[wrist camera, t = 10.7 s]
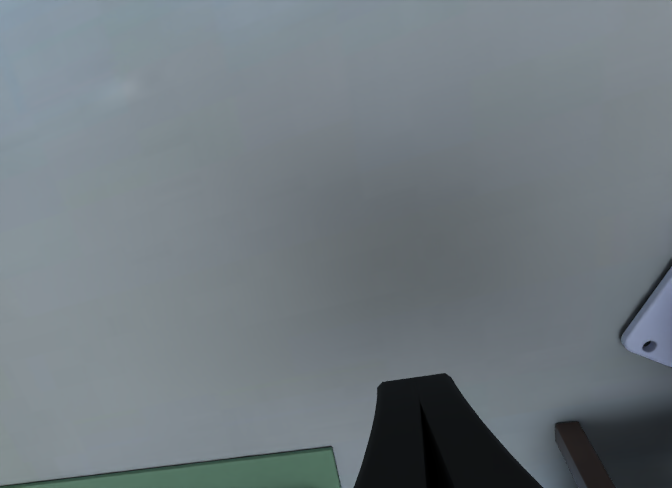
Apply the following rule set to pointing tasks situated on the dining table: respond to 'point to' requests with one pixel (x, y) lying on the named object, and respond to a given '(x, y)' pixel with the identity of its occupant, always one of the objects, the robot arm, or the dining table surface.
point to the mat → (221, 474)
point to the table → (581, 457)
